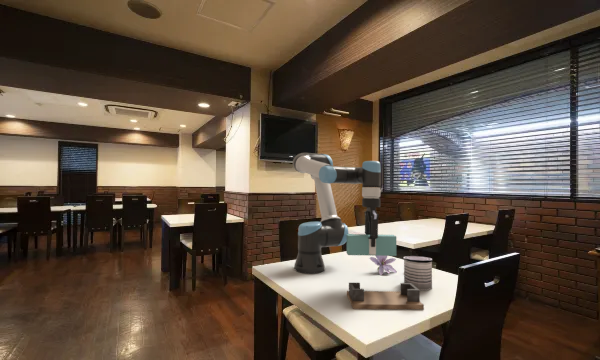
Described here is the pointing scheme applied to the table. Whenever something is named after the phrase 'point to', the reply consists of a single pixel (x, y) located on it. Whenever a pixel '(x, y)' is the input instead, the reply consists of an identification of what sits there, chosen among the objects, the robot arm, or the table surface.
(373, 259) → the water lily
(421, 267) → the can
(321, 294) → the table surface
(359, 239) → the teal rectangular block
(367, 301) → the endcap board
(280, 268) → the table surface
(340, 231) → the robot arm
